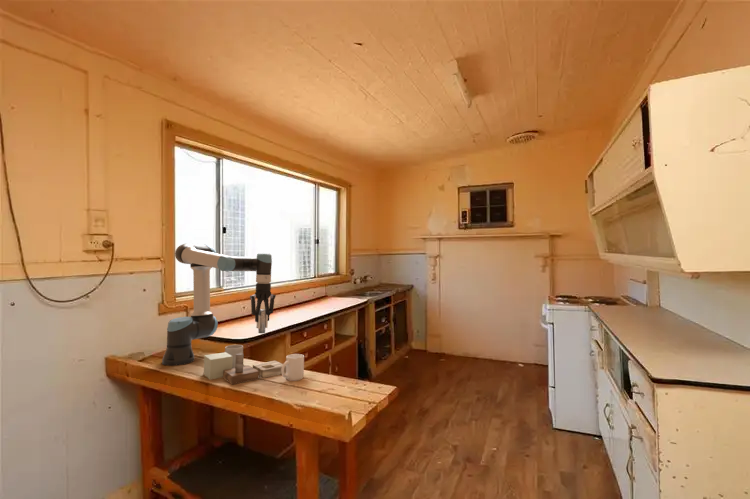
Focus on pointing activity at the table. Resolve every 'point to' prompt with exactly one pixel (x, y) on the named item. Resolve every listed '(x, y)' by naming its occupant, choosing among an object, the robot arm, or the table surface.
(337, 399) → the table surface
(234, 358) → the mug
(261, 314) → the pin
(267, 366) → the square block with hole
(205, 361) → the block
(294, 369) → the mug
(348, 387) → the table surface
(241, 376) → the board
